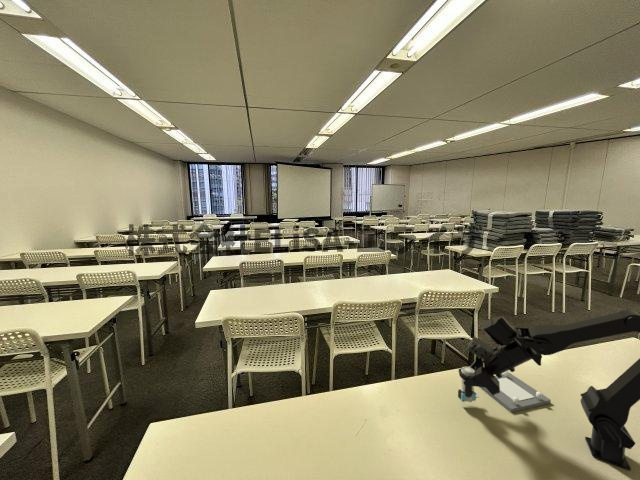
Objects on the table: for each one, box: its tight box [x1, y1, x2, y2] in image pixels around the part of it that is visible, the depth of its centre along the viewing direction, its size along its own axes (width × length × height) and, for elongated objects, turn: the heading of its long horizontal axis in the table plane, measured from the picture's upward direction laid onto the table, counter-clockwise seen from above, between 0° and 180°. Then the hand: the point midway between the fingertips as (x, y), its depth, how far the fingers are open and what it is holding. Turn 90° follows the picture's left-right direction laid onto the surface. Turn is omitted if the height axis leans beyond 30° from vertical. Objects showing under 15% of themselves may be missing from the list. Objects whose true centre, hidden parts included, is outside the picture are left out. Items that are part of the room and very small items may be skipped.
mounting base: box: [479, 370, 552, 413], centre depth 87 cm, size 14×16×3 cm
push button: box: [457, 366, 480, 403], centre depth 81 cm, size 7×5×10 cm
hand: (464, 378), depth 81 cm, fingers closed on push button, 5 cm apart
